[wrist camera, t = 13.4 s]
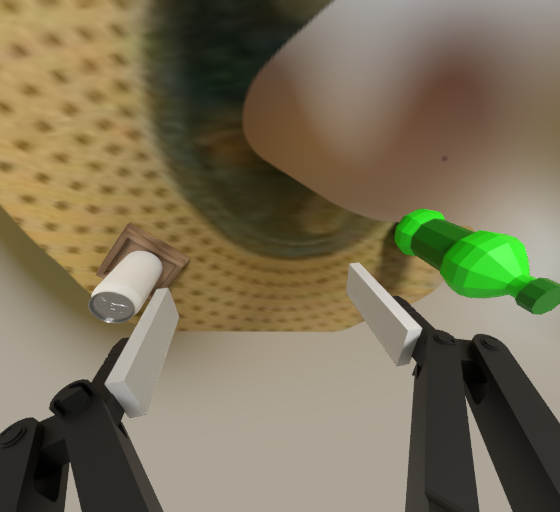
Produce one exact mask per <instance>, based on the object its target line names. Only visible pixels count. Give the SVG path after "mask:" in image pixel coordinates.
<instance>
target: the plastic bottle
mask: <svg viewBox="0 0 560 512" xmlns="http://www.w3.org/2000/svg"><path fill="white" fill-rule="evenodd" d="M394 241H395V243H396V244H397V246H398V247H399V248H400V250H401V251H402V252H403V253H404V254H406V255H413V256H418V257H419V258H421V259H422V260H424V261H425V262H427V263H428V264H430V265H431V266H433V267H434V268H436V269H437V270H439V271H440V274H441V275H442V277H443V279H444V280H445V282H446V283H447V284H448V286H449V287H450V288H451V289H452V290H454V291H455V292H456V293H458V294H459V295H463V296H466V297H470V298H491V297H499V296H504V295H511V296H513V297H514V298H515V300H516V303H517V305H519V306H521V307H522V308H524V309H526V310H527V311H529V312H531V313H532V314H543V313H546V312H548V311H550V310H552V309H554V308H555V307H556V306H557V305H559V304H560V284H558V283H556V282H554V281H551V280H549V279H547V278H538V279H536V278H534V277H532V276H530V275H529V274H530V273H529V271H530V269H529V263H528V256H527V253H526V250H525V246H524V244H522V243H521V242H520V241H519V240H518V239H517V238H515V237H512V236H509V235H506V234H500V233H494V232H488V231H477V232H473V231H470V230H468V229H465V228H463V227H460V226H458V225H455V224H453V223H450V222H448V221H446V220H445V219H444V217H443V215H442V214H441V213H440V212H437V211H433V210H426V209H418V210H416V211H414V212H412V213H410V214H408V215H406V216H404V217H403V218H402V220H401V221H400V222H399V223H398V225H397V226H396V230H395V237H394Z"/></svg>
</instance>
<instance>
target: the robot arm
mask: <svg viewBox="0 0 560 512" xmlns="http://www.w3.org/2000/svg"><path fill="white" fill-rule="evenodd" d="M346 294H347V295H348V296H349V298H350V299H351V301H352V302H353V304H354V305H355V307H356V308H357V309H358V311H359V312H360V314H361V315H362V317H363V318H364V320H365V321H366V323H367V324H368V325H369V327H370V328H371V330H372V331H373V332H374V334H375V336H376V337H377V338H378V340H379V341H380V343H381V344H382V346H383V347H384V348H385V350H386V351H387V353H388V354H389V356H390V357H391V359H392V360H393V362H394V363H395V364H396V366H400V365H405V364H409V363H410V360H411V358H412V357H413V358H414V360H415V361H416V362H417V364H416V366H415V368H414V371H413V374H412V375H413V376H414V375H415V378H414V392H413V406H412V407H413V408H412V422H411V435H410V449H409V464H408V478H407V492H406V507H405V512H479V504H478V496H477V488H476V480H475V472H474V464H473V456H472V448H471V440H470V432H469V423H468V416H467V407H466V399H465V396H466V398H467V401H468V403H469V406H470V408H471V411H472V413H473V415H474V418H475V420H476V423H477V425H478V428H479V430H480V432H481V435H482V437H483V440H484V442H485V445H486V447H487V450H488V452H489V455H490V457H491V460H492V462H493V464H494V467H495V469H496V472H497V474H498V477H499V479H500V482H501V484H502V486H503V489H504V492H505V494H506V496H507V499H508V501H509V504H510V506H511V509H512V511H513V512H560V423H559V422H558V420H557V419H556V417H555V416H554V415H553V413H552V412H551V410H550V409H549V407H548V406H547V404H546V403H545V401H544V400H543V399H542V397H541V396H540V394H539V393H538V391H537V390H536V388H535V387H534V386H533V384H532V383H531V381H530V380H529V378H528V377H527V375H526V374H525V373H524V371H523V370H522V368H521V367H520V365H519V364H518V363H517V361H516V360H515V358H514V357H513V355H512V354H511V353H510V351H509V350H508V348H507V347H506V346H505V345H504V344H503V343H502V342H501V341H499V340H498V339H496V338H494V337H491V336H489V335H485V334H477V335H475V336H474V337H473V339H472V340H461V339H455V338H454V337H453V336H451V335H450V334H449V333H447V332H444V331H440V330H435V329H434V328H433V327H432V326H431V325H430V324H429V323H428V322H427V321H426V320H425V319H424V318H423V317H422V316H421V315H420V314H419V313H418V312H416V310H415V309H414V308H413V307H411V305H410V304H409V303H408V302H407V301H406V300H404V299H402V298H401V297H399V296H391V295H390V294H389V293H388V292H387V291H386V290H385V289H384V288H383V287H382V286H381V285H380V284H379V283H378V282H377V281H376V280H375V279H374V278H373V277H372V276H371V275H370V274H369V273H368V271H367V270H366V269H365V268H364V267H363V266H362V265H361V264H360V263H352V264H349V272H348V280H347V288H346ZM178 320H179V315H178V312H177V310H176V307H175V304H174V301H173V299H172V296H171V293H170V290H169V288H162V289H157V290H156V291H155V293H154V295H153V297H152V299H151V300H150V302H149V304H148V306H147V308H146V309H145V311H144V313H143V315H142V317H141V319H140V320H139V322H138V324H137V326H136V328H135V330H134V331H133V333H132V335H131V337H129V338H122V339H121V340H120V341H119V342H118V343H117V344H116V345H114V346H113V348H112V349H111V351H110V353H109V354H108V357H107V358H106V359H105V361H104V364H103V365H102V366H101V368H100V369H99V371H98V372H97V374H96V376H95V377H94V379H93V381H92V382H90V381H89V380H83V379H82V380H78V381H75V382H73V383H71V384H69V385H67V386H66V387H64V388H63V389H62V390H61V391H59V392H58V393H57V394H56V395H55V396H54V398H53V399H52V401H51V403H50V407H49V409H50V410H51V411H52V412H53V413H54V414H55V415H54V416H52V417H50V418H47V419H45V420H43V421H41V422H38V421H37V420H36V419H34V418H25V419H22V420H20V421H17V422H16V423H14V424H13V425H11V426H9V427H8V428H7V429H5V430H4V431H3V432H2V433H1V434H0V512H64V507H65V499H66V489H67V481H68V472H69V462H70V463H71V467H72V471H73V476H74V480H75V484H76V488H77V492H78V497H79V501H80V506H81V510H82V512H163V510H162V507H161V505H160V503H159V501H158V499H157V497H156V494H155V492H154V490H153V488H152V486H151V484H150V481H149V479H148V477H147V475H146V473H145V470H144V469H143V466H142V464H141V462H140V460H139V458H138V455H137V453H136V451H135V449H134V447H133V445H132V442H131V440H130V438H129V436H128V434H127V431H126V429H125V427H124V425H123V423H122V422H121V419H122V417H123V414H124V412H125V413H126V414H127V416H128V417H129V418H133V417H138V416H143V415H146V414H147V411H148V408H149V405H150V402H151V399H152V396H153V394H154V391H155V388H156V385H157V382H158V379H159V376H160V373H161V370H162V367H163V364H164V361H165V358H166V355H167V352H168V349H169V346H170V343H171V340H172V337H173V335H174V332H175V329H176V326H177V323H178Z"/></svg>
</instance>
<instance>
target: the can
mask: <svg viewBox="0 0 560 512" xmlns="http://www.w3.org/2000/svg"><path fill="white" fill-rule="evenodd" d="M162 270H163V267H162V263H161V261H160V260H159V259H158V258H157V257H156V256H155V255H154V254H152V253H149V252H146V251H134V252H131V253H130V254H128V255H127V256H126V257H125V258H124V259H123V260H122V261H121V262H120V263H119V264H118V265H117V266H116V267H115V268H114V269H113V270H112V271H111V272H110V273H109V274H108V275H107V276H106V278H105V279H104V280H103V281H102V282H101V283H100V284H99V285H98V286H97V287H96V288H95V290H94V291H93V293H92V297H91V298H90V300H89V303H88V307H89V310H90V312H91V313H92V314H93V315H94V316H95V317H96V318H98V319H100V320H102V321H105V322H109V323H122V322H125V321H128V320H129V319H131V318H132V317H133V315H135V314H136V313H137V312H139V310H140V309H141V307H142V306H143V304H144V303H145V301H146V299H147V298H148V296H149V294H150V292H151V291H152V289H153V287H154V285H155V284H156V282H157V280H158V279H159V277H160V275H161V273H162Z"/></svg>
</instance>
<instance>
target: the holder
mask: <svg viewBox="0 0 560 512" xmlns="http://www.w3.org/2000/svg"><path fill="white" fill-rule="evenodd" d="M134 251H146V252H149V253H152V254H154V255H155V256H156V257H157V258H158V259H159V260H160V261H161V263H162V267H163V270H162V273H161V275H160V277H159V279H158V280H157V282H156V284H155V285H154V287H153V289H152V291H151V292H150V294H149V296H148V298H147V299H149V300H151V299H152V297H153V295H154V293H155V291H156V290H157V289H162V288H167V287H168V286H169V285H170V284H171V282H172V281H173V280H174V279H175V277H176V276H177V275H178V274H179V272H180V271H181V270H182V269H183V267H184V266H185V265H186V263H187V262H188V261H189V259H190V257H188V256H186V255H185V254H183V253H181V252H179V251H178V250H176V249H174V248H173V247H171V246H169V245H167V244H166V243H164V242H162V241H161V240H159V239H157V238H155V237H154V236H152V235H150V234H149V233H147V232H145V231H144V230H142V229H140V228H138V227H137V226H135V225H133V224H132V223H129V224H127V226H126V227H125V229H124V230H123V232H122V234H121V235H120V237H119V238H118V240H117V241H116V243H115V244H114V246H113V247H112V249H111V250H110V252H109V254H108V255H107V257H106V258H105V260H104V261H103V263H102V264H101V266H100V267H99V269H98V270H97V271H98V273H97V276H99V277H101V278H103V279H105V278H106V276H107V275H108V274H109V273H110V272H111V271H112V270H113V269H114V268H115V267H116V266H117V265H118V264H119V263H120V262H121V261H122V260H123V259H124V258H125V257H126V256H127V255H128V254H130V253H131V252H134Z"/></svg>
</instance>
